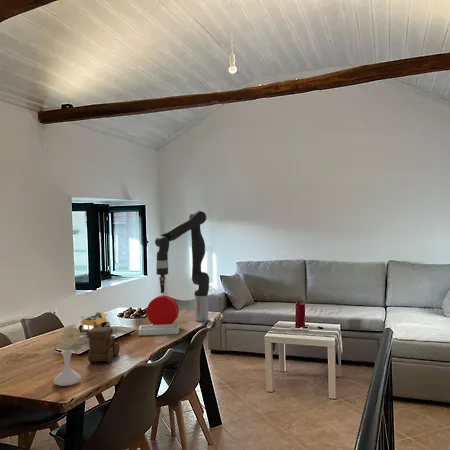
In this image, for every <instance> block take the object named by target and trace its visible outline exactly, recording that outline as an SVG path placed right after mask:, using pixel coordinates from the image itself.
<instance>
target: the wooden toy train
mask: <svg viewBox="0 0 450 450" xmlns="http://www.w3.org/2000/svg"><path fill="white" fill-rule="evenodd" d="M113 329H114V328H113V327H111V324H110V325H105V326H104V327H96V328H92V329H90V330H89V331H88V330H87V332H86V338H87V339H88V341H89V351H88V353H87V359H88V362H89V363H90V364H92V363H94V362H106V363H107V364H110V363H112V362H113V360H114V359H113V358H114V357H118V355H119V353H120V348H121V347H120V343H119V342H117V341H116V338H115V335H113V333H114V332H113V331H114V330H113Z"/></svg>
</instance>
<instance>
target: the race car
mask: <svg viewBox="0 0 450 450" xmlns="http://www.w3.org/2000/svg"><path fill="white" fill-rule="evenodd" d="M107 315H108V313H101V312H98V311H97V312H95V313H94V315H92V316H88V317H86V318H85V316H84V315H81V316H80V318H81V319H82V320H81V321H80V325H79V326H78V329H79V330H80V331H79V332H82V333H83V332H85V331H87V332H88V331H89V330H90V329H92V328H96V327H104V326H105V325H110V326H111V323H110V321H108V320H107V318H106V317H107Z"/></svg>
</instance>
